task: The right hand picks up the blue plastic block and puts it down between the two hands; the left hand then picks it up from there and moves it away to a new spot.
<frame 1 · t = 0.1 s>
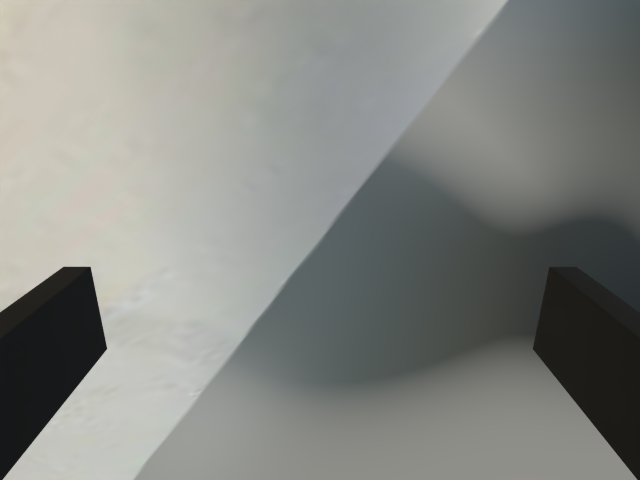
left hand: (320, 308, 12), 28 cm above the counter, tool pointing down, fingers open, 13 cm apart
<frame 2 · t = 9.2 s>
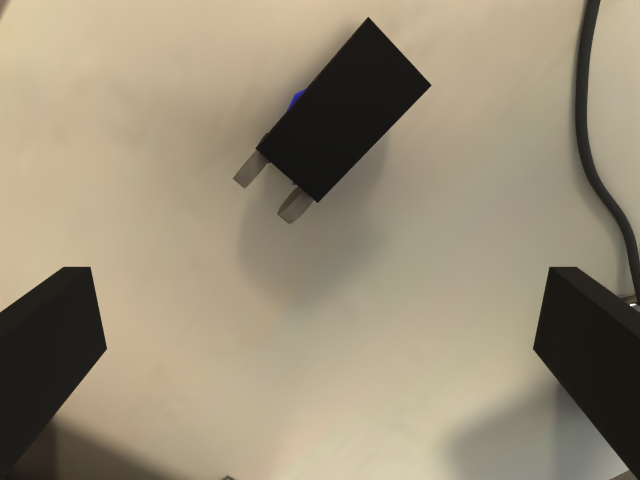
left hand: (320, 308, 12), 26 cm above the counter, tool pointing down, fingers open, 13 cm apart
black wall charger: (324, 124, 36), on the counter
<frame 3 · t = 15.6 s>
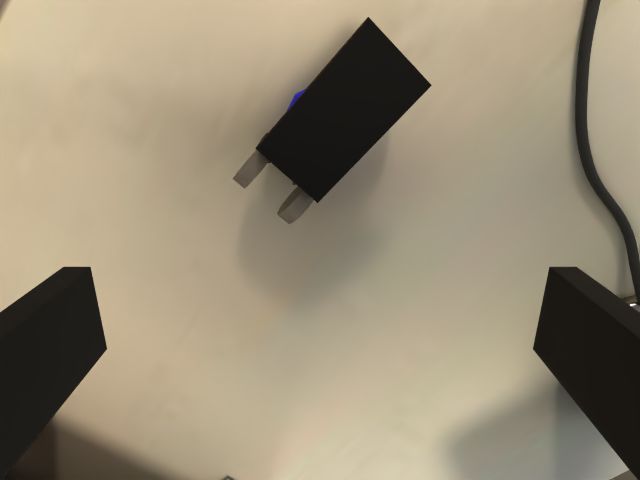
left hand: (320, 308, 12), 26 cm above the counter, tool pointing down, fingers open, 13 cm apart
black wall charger: (324, 124, 36), on the counter
when the right hand's fingers open (2 cm above the counter, at t = 22.4 s): block drops 2 cm, on the counter.
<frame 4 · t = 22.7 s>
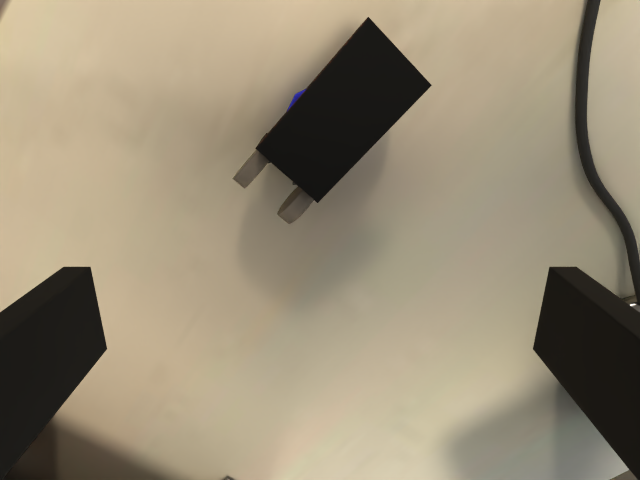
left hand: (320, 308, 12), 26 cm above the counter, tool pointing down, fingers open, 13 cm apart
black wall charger: (324, 124, 36), on the counter
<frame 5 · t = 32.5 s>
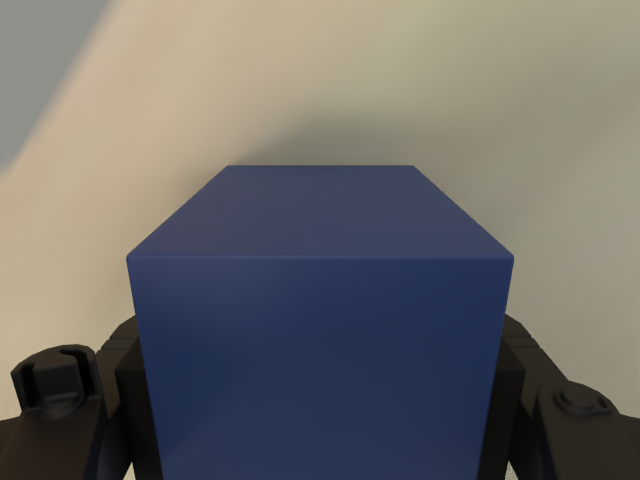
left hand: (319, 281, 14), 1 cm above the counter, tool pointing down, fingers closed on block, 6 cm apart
block: (320, 271, 15), on the counter, touching left hand
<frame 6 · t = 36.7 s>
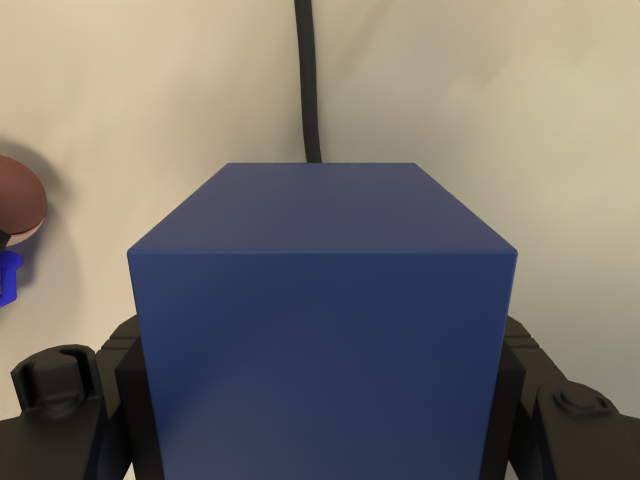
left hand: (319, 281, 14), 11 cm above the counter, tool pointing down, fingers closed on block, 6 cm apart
block: (321, 269, 15), point 11 cm above the counter, touching left hand
when the left hand's fingers open (2 cm above the counter, at t = 41.2 s): block drops 2 cm, on the counter.
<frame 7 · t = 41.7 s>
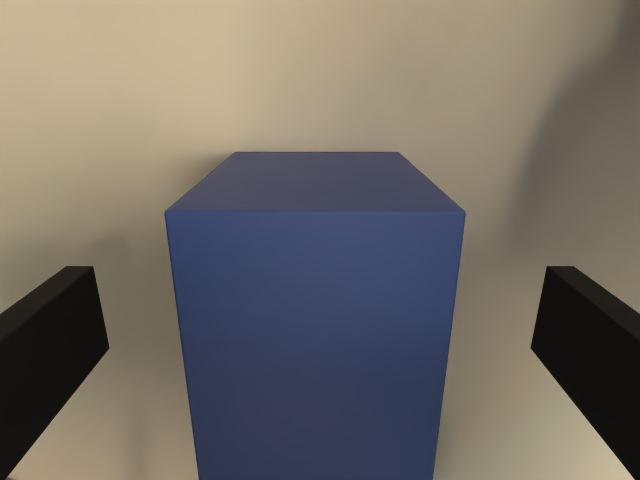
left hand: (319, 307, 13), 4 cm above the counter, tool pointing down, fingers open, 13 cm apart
block: (317, 247, 17), on the counter
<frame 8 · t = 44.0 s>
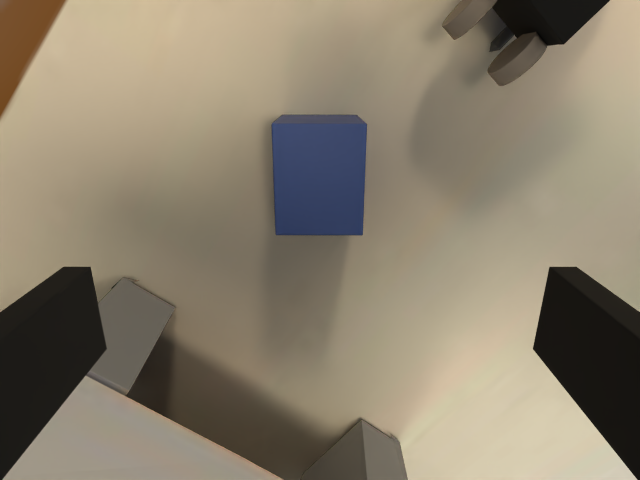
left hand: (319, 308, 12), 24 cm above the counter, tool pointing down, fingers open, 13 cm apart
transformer: (186, 466, 46), on the counter
block: (319, 161, 35), on the counter
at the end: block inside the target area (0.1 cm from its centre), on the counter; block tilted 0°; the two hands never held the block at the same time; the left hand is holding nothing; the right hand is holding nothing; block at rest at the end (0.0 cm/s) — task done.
